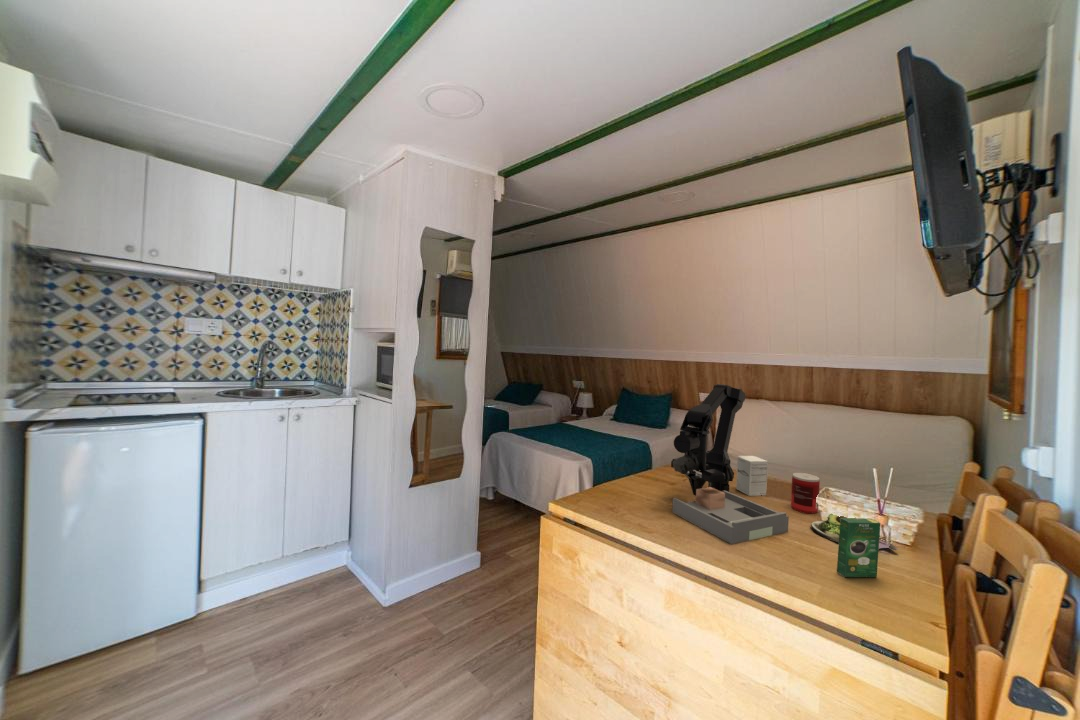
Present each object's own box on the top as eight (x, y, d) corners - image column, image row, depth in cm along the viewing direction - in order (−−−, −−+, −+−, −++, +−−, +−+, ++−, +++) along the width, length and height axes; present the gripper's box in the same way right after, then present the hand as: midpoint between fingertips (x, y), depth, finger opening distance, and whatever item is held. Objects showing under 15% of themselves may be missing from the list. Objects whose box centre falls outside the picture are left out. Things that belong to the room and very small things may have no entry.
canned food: (810, 505, 143) (811, 473, 143) (823, 514, 135) (825, 480, 135) (786, 504, 144) (787, 471, 144) (798, 513, 136) (799, 479, 136)
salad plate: (918, 552, 112) (919, 535, 112) (869, 560, 107) (870, 542, 107) (846, 522, 130) (847, 507, 130) (801, 528, 125) (802, 513, 125)
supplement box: (735, 489, 158) (736, 455, 157) (753, 488, 159) (754, 455, 159) (748, 496, 151) (750, 461, 150) (767, 495, 152) (768, 460, 152)
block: (695, 502, 136) (696, 489, 136) (709, 500, 138) (710, 486, 138) (710, 509, 130) (710, 495, 130) (724, 507, 133) (725, 493, 133)
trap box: (672, 512, 134) (673, 495, 134) (724, 503, 143) (724, 487, 143) (731, 544, 113) (732, 523, 113) (787, 531, 122) (788, 512, 122)
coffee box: (868, 571, 101) (871, 517, 100) (878, 578, 98) (881, 522, 97) (835, 571, 100) (838, 516, 100) (845, 578, 97) (848, 522, 97)
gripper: (659, 443, 145) (657, 488, 145) (699, 457, 128) (697, 508, 128) (684, 441, 149) (683, 485, 150) (727, 454, 132) (725, 504, 133)
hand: (695, 495), depth 140 cm, fingers closed
